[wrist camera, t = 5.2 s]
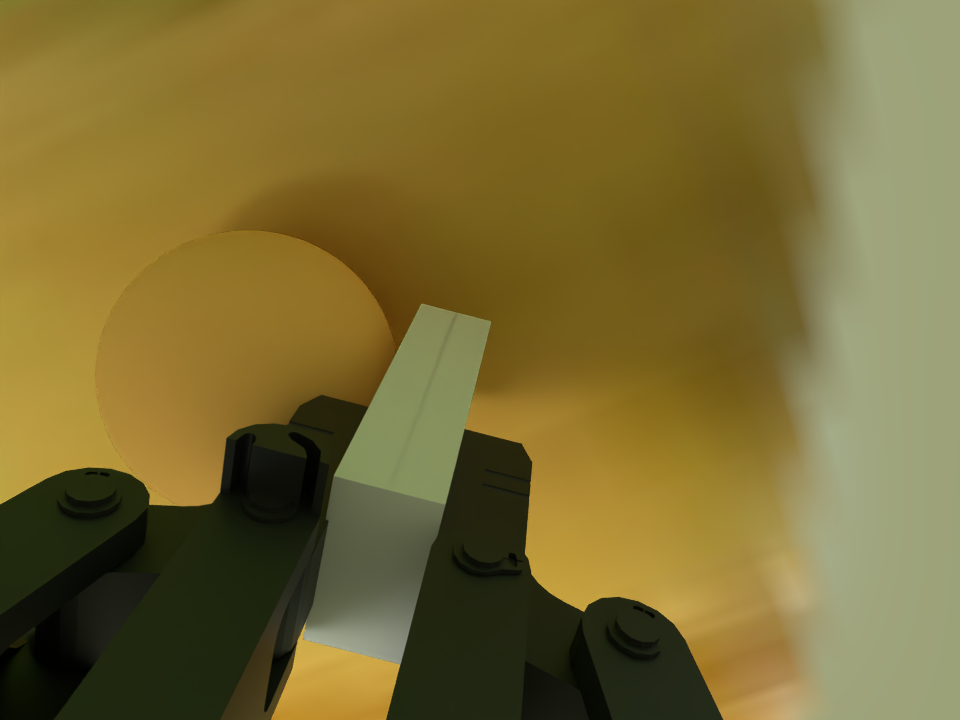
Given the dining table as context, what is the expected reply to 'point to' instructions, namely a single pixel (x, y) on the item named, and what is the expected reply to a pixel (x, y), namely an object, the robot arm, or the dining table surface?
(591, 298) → the dining table surface
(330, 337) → the ball
